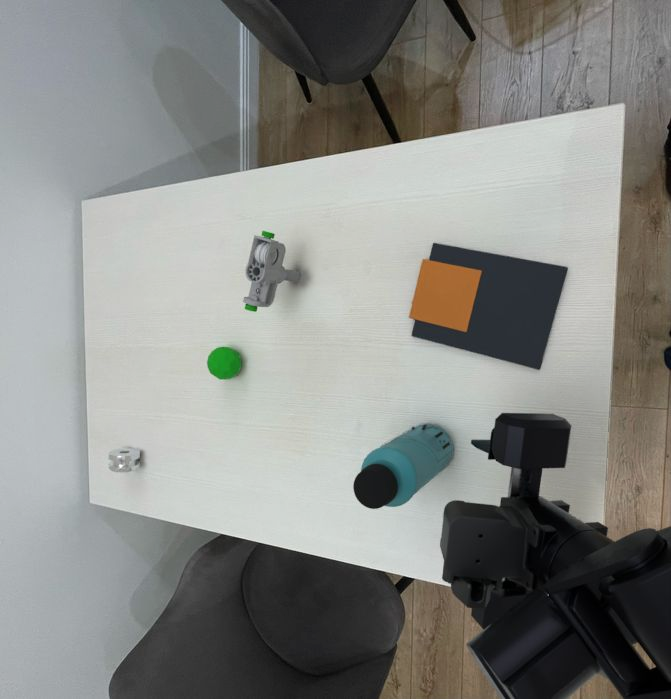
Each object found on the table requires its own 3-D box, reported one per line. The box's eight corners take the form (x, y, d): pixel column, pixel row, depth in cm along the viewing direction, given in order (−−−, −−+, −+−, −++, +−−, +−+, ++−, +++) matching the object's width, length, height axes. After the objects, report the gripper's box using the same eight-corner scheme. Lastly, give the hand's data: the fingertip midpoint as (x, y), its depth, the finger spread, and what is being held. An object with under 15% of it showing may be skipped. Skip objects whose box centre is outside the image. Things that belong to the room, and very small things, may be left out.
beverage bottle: (467, 439, 67) (415, 483, 49) (441, 480, 69) (381, 537, 51) (424, 409, 69) (359, 441, 52) (399, 450, 71) (329, 494, 54)
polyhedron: (217, 368, 85) (196, 371, 80) (227, 340, 83) (206, 341, 79) (240, 383, 83) (220, 387, 78) (251, 354, 82) (231, 357, 77)
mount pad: (568, 267, 61) (567, 267, 60) (539, 369, 63) (538, 369, 62) (428, 242, 68) (426, 241, 67) (406, 334, 70) (405, 334, 69)
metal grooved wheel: (146, 451, 93) (123, 457, 88) (146, 467, 93) (122, 475, 89) (125, 446, 95) (102, 452, 91) (125, 462, 95) (101, 470, 91)
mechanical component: (279, 307, 79) (236, 306, 70) (296, 238, 77) (254, 228, 68) (295, 313, 78) (254, 313, 69) (313, 243, 76) (273, 233, 67)
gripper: (501, 443, 35) (405, 392, 50) (469, 701, 38) (385, 579, 53) (635, 442, 39) (507, 395, 54) (598, 679, 41) (485, 571, 56)
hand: (469, 485), depth 54 cm, fingers open, 9 cm apart
